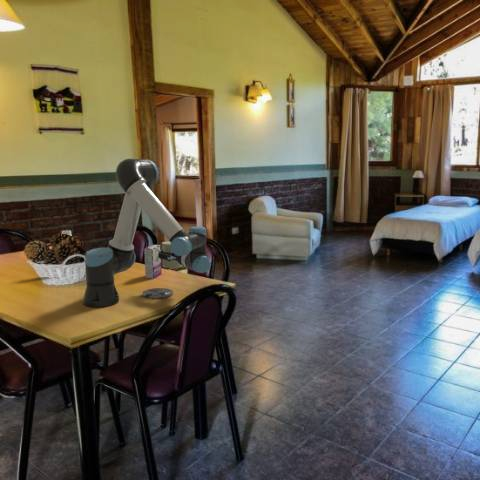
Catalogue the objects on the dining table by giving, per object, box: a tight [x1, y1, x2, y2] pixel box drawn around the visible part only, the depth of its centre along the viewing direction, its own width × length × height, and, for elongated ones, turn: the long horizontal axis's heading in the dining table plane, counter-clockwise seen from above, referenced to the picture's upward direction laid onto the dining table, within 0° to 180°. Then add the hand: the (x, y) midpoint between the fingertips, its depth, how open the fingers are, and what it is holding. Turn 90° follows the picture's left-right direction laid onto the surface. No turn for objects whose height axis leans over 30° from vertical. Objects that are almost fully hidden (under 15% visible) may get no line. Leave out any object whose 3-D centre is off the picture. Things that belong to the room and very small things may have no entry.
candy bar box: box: [143, 244, 162, 280], centre depth 251 cm, size 11×5×16 cm, turn 167°
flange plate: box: [141, 287, 174, 300], centre depth 218 cm, size 14×14×1 cm
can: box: [161, 240, 182, 269], centre depth 225 cm, size 9×9×12 cm
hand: (167, 251), depth 229 cm, fingers closed on can, 9 cm apart
